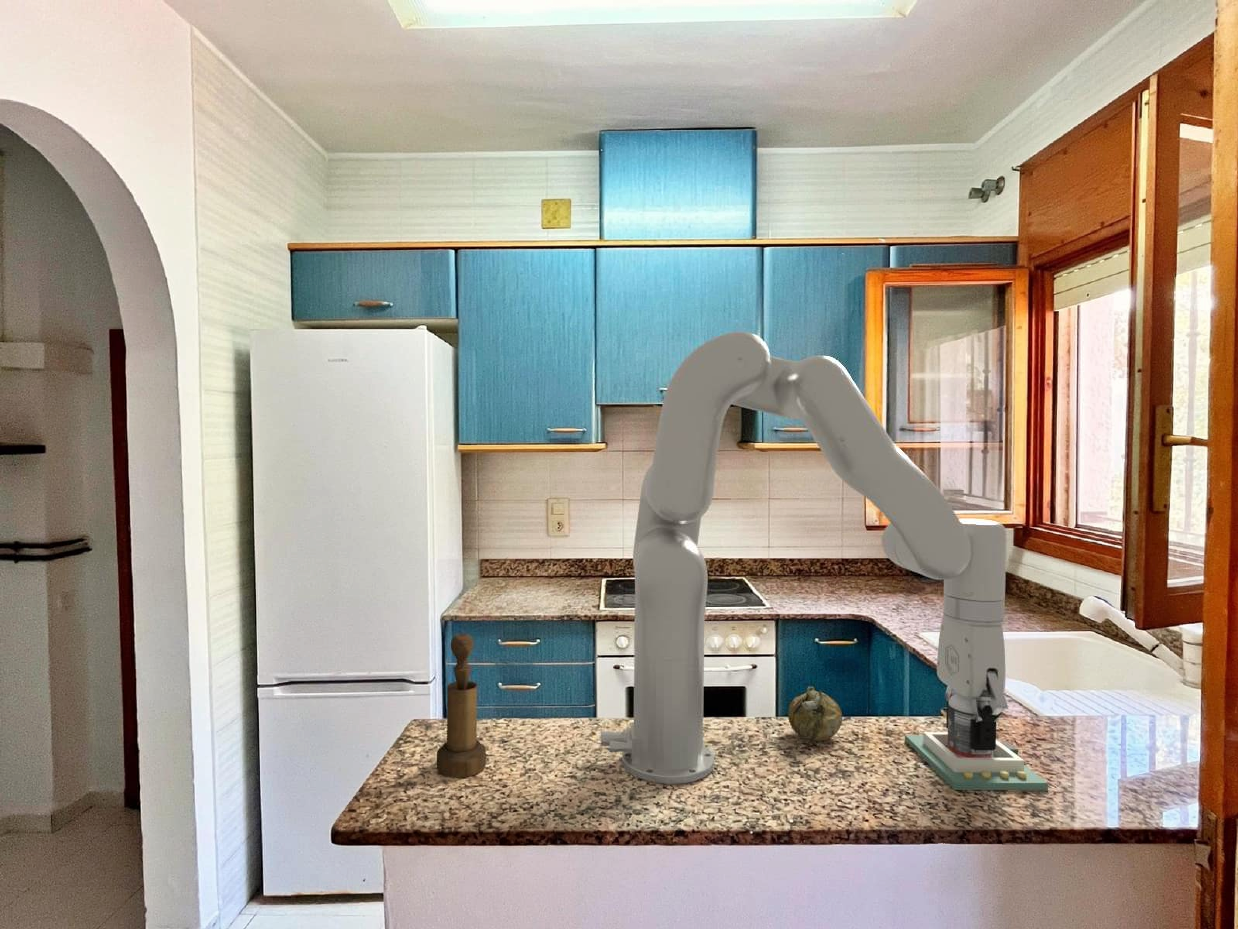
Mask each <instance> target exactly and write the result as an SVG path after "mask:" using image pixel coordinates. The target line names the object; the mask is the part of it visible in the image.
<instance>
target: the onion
mask: <svg viewBox="0 0 1238 929" xmlns="http://www.w3.org/2000/svg"><path fill="white" fill-rule="evenodd" d="M788 706H789V707H788V716H787V719H788V722H789V725H790V726H791V729H792V730H793V732H794V733H795V734H796V735H798V737H800V738H803V739H805V741H812V742H823V741H824V742H825V741H827V740H829V739H832V738H833V737H834V736H835V735H836V734H837V733H838V732H839V731H840V729H841V726H842V724H843V714H842V710H841V707H840V706H839V704H838V703H837V702H836V701H835V700H834V699H833V698H831V696H829V695H827V694H825V693H824V692H822V691H821V690H819V691H816V690H815V688H814V687H813V686H808V687H807V689H806V692H805V693H804V694H800V695H799V696H796V697H794V699H793V700H792V701H791V702H790V704H789V705H788Z"/></svg>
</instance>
